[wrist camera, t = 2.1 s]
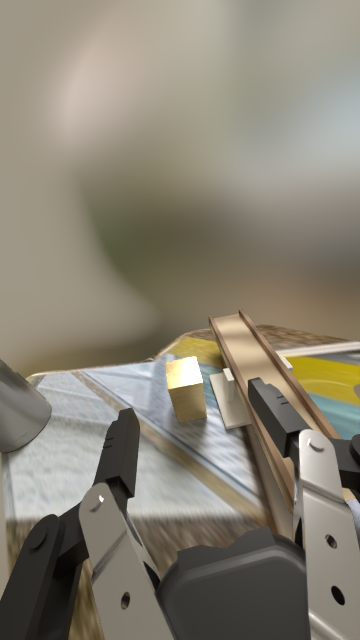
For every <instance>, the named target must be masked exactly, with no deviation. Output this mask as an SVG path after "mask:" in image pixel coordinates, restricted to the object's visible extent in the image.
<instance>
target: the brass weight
mask: <svg viewBox="0 0 360 640" xmlns="http://www.w3.org/2000/svg"><path fill="white" fill-rule="evenodd" d="M166 372H167V386H168V392H169V395H170V398H171V401H172V404H173V407H174V410H175V413H176V416H177V419H178V422H179V423H182V422H186V421H191V420H196V419H200V418H205V417H207V413H206V405H205V397H204V389H203V382H202V378H201V375H200V371H199V367H198V364H197V360H196V357H190V358H185V359H180V360H175V361H171V362H166Z"/></svg>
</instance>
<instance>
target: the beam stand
mask: <svg viewBox="0 0 360 640" xmlns="http://www.w3.org/2000/svg"><path fill="white" fill-rule="evenodd" d="M280 359H281V360H282V361H283V363H284V364H285V365H286V367H287V368H288V369H289V370H290V372H292V369H293V367H292V365H291V364H290V363H289V362H288V361H287V360H286V359H285V358H284V356H283V357H280ZM209 378H210V381H211V385H212V388H213V391H214V394H215V397H216V400H217V403H218V406H219V409H220V412H221V415H222V418H223V421H224V424H225V427H226V429H231V428H236V427H240V426H245V425H249V424H251V421H250V419H249V417H248V414H247V412H246V410H245V407H244V405H243V403H242V400H241V398H240V396H239V393H238V391H237V389H236V387H235V384H234V378H233V376H232V374H231V371H230V369H229V368H226V369H223V372H222V373H217V374H213V375H209Z"/></svg>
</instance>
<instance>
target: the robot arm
mask: <svg viewBox="0 0 360 640" xmlns="http://www.w3.org/2000/svg"><path fill="white" fill-rule="evenodd" d="M248 398H249V401H250V403H251V405H252V407H253V408H254V410H255V412H256V413H257V415H258V417H259V419H260V420H261V422H262V424H263V425H264V427H265V429H266V430H267V432H268V434H269V435H270V437H271V439H272V440H273V442H274V444H275V446H276V447H277V449H278V451H279V452H280V454H281V456H282V457H283V458H287V457H290V459H291V460H292V462H293V482H294V512H293V541H291V540H290V539H288V538H286V537H284V536H282V535H279V534H276V533H271V531H270V528H269V526H266V527H263V528H259V529H255V530H252V531H248V532H246V533H245V534H244V535H242V536H241V537H240V538H239V539H237V540H236V541H235V542H234V543H233V544H231V545H230V546H229V547H228V548H225V549H223V548H216V547H210V546H204V545H198V546H195V547H191V548H188V549H184V550H181V551H177V552H178V559H177V560H176V561H175V562H174V563H173V564H172V565H171V566H170V567H169V569H168V570H167V571H166V573H165V574H164V576H163V578H162V579H161V577H160V575H159V573H158V571H157V569H156V567H155V565H154V563H153V561H152V559H151V557H150V556H149V554H148V552H147V551H146V549H145V547H144V545H143V543H142V541H141V539H140V536H139V534H138V532H137V530H136V528H135V526H134V524H133V522H132V520H131V518H130V516H129V514H128V512H127V501H128V499H129V498H132V497H134V494H135V483H136V471H137V460H138V448H139V437H140V425H139V421H138V419H137V417H136V414H135V412H134V410H133V408H128V409H124V410H120V412H119V416H118V420H117V421H113V422H112V424H111V425H110V427H109V429H108V430H107V434H106V438H105V442H104V446H103V450H102V453H101V457H100V461H99V465H98V468H97V472H96V476H95V480H94V483H93V485H92V488H90V490H89V491H88V492H87V493H86V494H85V496H84V498H83V500H82V501H81V502H80V503H79V504H77V505H76V506H74V507H73V508H71V509H70V510H68V511H67V512H65V513H64V514H62V515H61V516H59V517H58V516H56V515H54V514H50V515H47V516H45V517H44V518H42V519H41V520H40V521H39V522H38V523H37V524H36V525H35V526H34V527H33V529H32V530H31V531H30V533H29V534H28V536H27V538H26V540H25V542H24V544H23V546H22V549H21V551H20V554H19V556H18V559H17V561H16V563H15V566H14V568H13V571H12V573H11V576H10V578H9V581H8V583H7V585H6V588H5V590H4V593H3V595H2V598H1V600H0V640H68V636H69V631H70V626H71V621H72V616H73V610H74V605H75V600H76V595H77V590H78V585H79V580H80V575H81V570H82V565H83V561H85V560H86V559H87V558H88V557H90V560H91V564H92V568H93V575H92V579H91V581H92V589H93V593H94V597H95V601H96V605H97V609H98V613H99V617H100V621H101V625H102V629H103V633H104V637H105V640H360V549H359V544H358V540H357V535H356V530H355V525H354V520H353V516H352V512H351V509H350V507H349V505H348V504H346V502H345V500H344V496H343V491H342V488H347V489H349V490H350V491H351V492H352V494H353V495H354V496H355V498H356V499H357V501H358V502H359V503H360V434H358V435H355V436H353V438H352V440H343V439H333V438H328V437H325V436H324V435H323V434H321V433H319V432H317V431H315V430H313V429H312V428H311V427H310V426H309V425H308V424H307V422H306V421H305V420H304V419H303V418H302V417H301V415H300V414H299V413H298V412H297V411H296V409H295V408H294V407H293V406H292V405H291V404H290V403H289V401H288V400H287V399H286V398H285V397H284V395H283V394H282V393H281V392H280V390H279V389H278V388H276V387H275V386H273V385H272V384H270V383H269V384H265V383H264V382H263V380H262V379H261V378H260V377H257V378H253V379H249V380H248ZM51 410H52V409H51V405H50V404H49V403H48V402H47V401H46V398H45V397H44V396H43V395H42V394H41V393H39V392H38V391H37V390H36V389H35V388H34V387H33V386H32V385H31V384H30V383H29V382H28V381H27V380H26V379H24V378H23V377H22V376H21V375H20V374H19V373H18V372H14V371H13V370H12V369H11V368H10V367H9V366H8V365H7V364H6V363H5V362H3V361H2V360H1V359H0V452H3V453H5V452H11V451H14V450H16V449H18V448H20V447H22V446H24V445H25V444H27V443H28V442H29V441H31V440H32V439H33V438H34V437H35V436H36V435H37V434H38V433H39V432H40V431H41V430H42V429H43V428H44V426H45V425H46V423H47V422H48V420H49V418H50V415H51Z"/></svg>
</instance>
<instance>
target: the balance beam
mask: <svg viewBox="0 0 360 640" xmlns="http://www.w3.org/2000/svg"><path fill="white" fill-rule="evenodd" d="M209 326H210V329H211V331H212V333H213V335H214V338H215V340H216V342H217V345H218V347H219V349H220V352H221V354H222V356H223V359H224V361H225V363H226V366H227V368H229V369H230V371H231V374H232V376H233V378H234V384H235V387H236V389H237V391H238V393H239V396H240V398H241V400H242V403H243V405H244V407H245V410H246V412H247V414H248V417H249V419H250V421H251V424H252V426H253V428H254V431H255V433H256V435H257V438H258V440H259V442H260V445H261V447H262V449H263V451H264V454H265V456H266V458H267V461H268V463H269V465H270V468H271V470H272V472H273V475H274V477H275V479H276V482H277V484H278V486H279V489H280V491H281V493H282V496H283V498H284V500H285V503H286V505H287V507H288V509H289V512H290V513H293V512H294V482H293V462H292V460H291V459H290V457H287V458H283V457H282V456H281V454H280V452H279V451H278V449H277V447H276V446H275V444H274V442H273V440H272V439H271V437H270V435H269V434H268V432H267V430H266V429H265V427H264V425H263V424H262V422H261V420H260V419H259V417H258V415H257V413H256V412H255V410H254V408H253V407H252V405H251V403H250V401H249V398H248V380H249V379H253V378H257V377H260V378H261V379H262V380H263V382H264V383H265V384H269V383H270V384H272V385H273V386H275V387H276V388H278V389H279V390H280V392H281V393H282V394H283V395H284V397H285V398H286V399H287V400H288V401H289V403H290V404H291V405H292V406H293V407H294V408H295V409H296V411H297V412H298V413H299V414H300V415H301V417H302V418H303V419H304V420H305V421H306V422H307V424H308V425H309V426H310V427H311V428H312V429H313V430H315V431H317V432H319V433H321V434H323V435H324V436H325V437H328V438H333V439H342V438H341V437H340V436H339V434H338V433H337V432H336V431H335V429H334V428H333V427H332V425H331V424H330V423H329V421H328V420H327V419H326V417H325V416H324V415H323V414H322V412H321V411H320V410H319V408H318V407H317V406H316V404H315V403H314V402H313V400H312V399H311V398H310V397H309V395H308V394H307V393H306V391H305V390H304V389H303V387H302V386H301V385H300V383H299V382H298V381H297V380H296V378H295V377H294V376H293V374H292V373H291V372H290V370H289V369H288V368H287V367H286V365H285V364H284V363H283V361H282V360H281V359H280V357H279V356H278V355H277V353H276V352H275V351H274V350H273V348H272V347H271V346H270V344H269V343H268V342H267V340H266V339H265V338H264V336H263V335H262V334H261V333H260V331H259V330H258V329H257V327H256V326H255V325H254V323H253V322H252V321H251V320H250V318H249V317H248V316H247V314H246V313H245V312H244V310H243V309H240V310H239V314H235V315H230V316H226V317H220V318H216V319H214V318H213V316H212V315H210V316H209ZM342 491H343V496H344V500H345V501H348V500H353V499H356V498H355V496H354V495H353V494H352V492H351V491H350V490H349V489H347V488H342Z"/></svg>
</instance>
